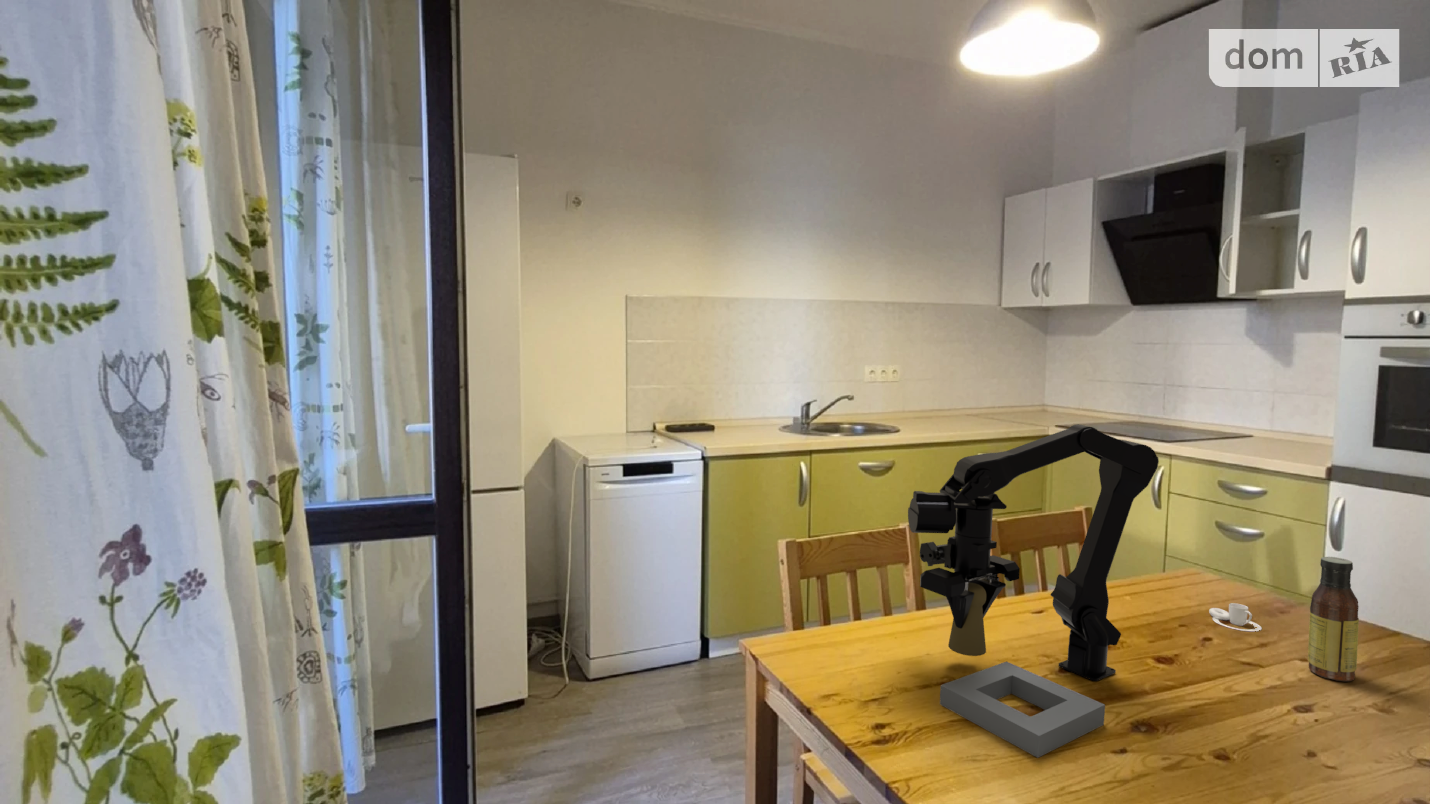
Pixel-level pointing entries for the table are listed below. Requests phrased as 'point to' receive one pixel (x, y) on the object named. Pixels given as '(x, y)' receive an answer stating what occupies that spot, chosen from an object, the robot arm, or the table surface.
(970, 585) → the brown pawn
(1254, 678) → the table surface
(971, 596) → the robot arm
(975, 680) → the socket plate
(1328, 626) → the sauce bottle
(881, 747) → the table surface
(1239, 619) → the teacup and saucer
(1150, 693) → the table surface
